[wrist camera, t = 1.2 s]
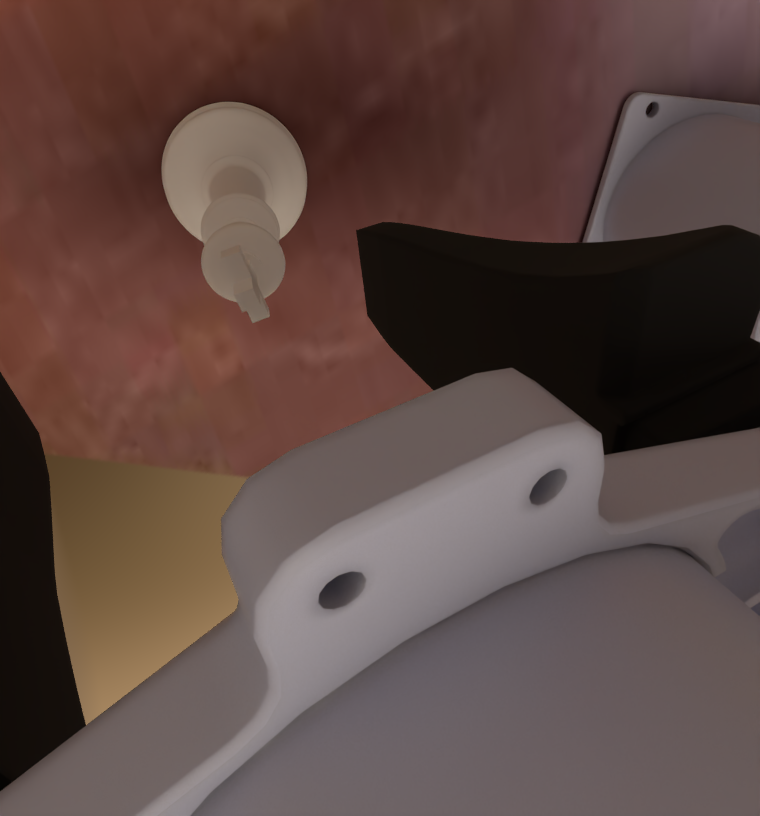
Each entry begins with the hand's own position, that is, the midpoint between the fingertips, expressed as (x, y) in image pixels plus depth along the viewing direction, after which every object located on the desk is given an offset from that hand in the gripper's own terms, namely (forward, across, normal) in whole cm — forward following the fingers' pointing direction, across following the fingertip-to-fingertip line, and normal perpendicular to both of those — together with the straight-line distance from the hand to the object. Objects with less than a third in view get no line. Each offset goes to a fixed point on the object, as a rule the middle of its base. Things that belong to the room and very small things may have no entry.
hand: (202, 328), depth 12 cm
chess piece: (+11, -4, +1) cm, 12 cm away
